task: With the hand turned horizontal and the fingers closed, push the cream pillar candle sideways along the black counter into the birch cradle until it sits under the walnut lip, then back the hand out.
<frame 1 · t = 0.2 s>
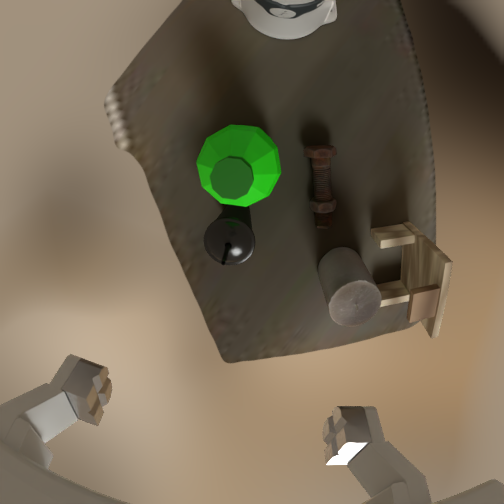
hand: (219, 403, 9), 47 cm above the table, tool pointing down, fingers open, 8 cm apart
drinking cup: (237, 212, 56), on the table
pillar candle: (339, 266, 60), on the table
plastic bottle: (247, 150, 51), on the table
bolt: (319, 184, 53), on the table
cradle: (377, 260, 59), on the table
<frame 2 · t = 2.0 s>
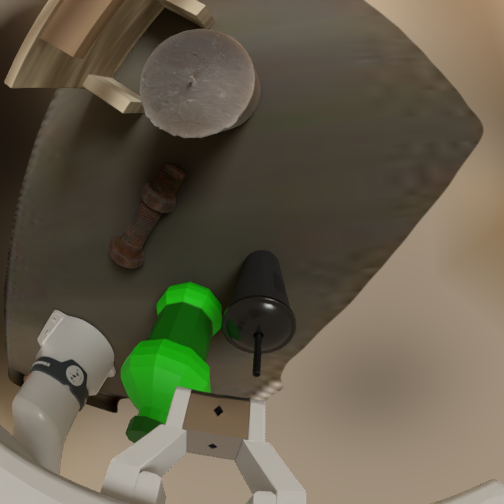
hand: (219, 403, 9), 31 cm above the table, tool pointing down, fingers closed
drinking cup: (261, 264, 42), on the table
pillar candle: (220, 94, 32), on the table
plastic bottle: (194, 298, 45), on the table
bolt: (154, 210, 40), on the table
cradle: (168, 60, 30), on the table
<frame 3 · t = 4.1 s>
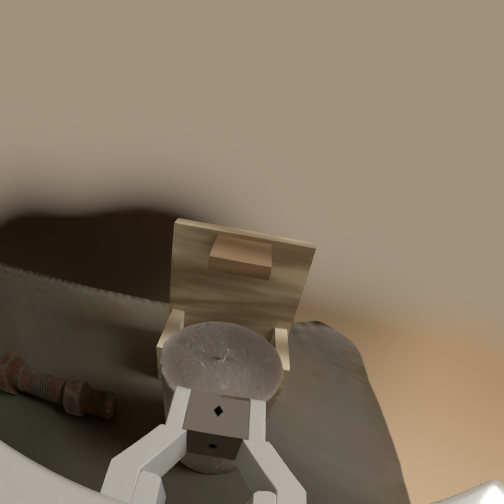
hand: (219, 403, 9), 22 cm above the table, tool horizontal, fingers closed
pillar candle: (209, 438, 27), on the table
bolt: (60, 402, 26), on the table
cradle: (218, 382, 35), on the table
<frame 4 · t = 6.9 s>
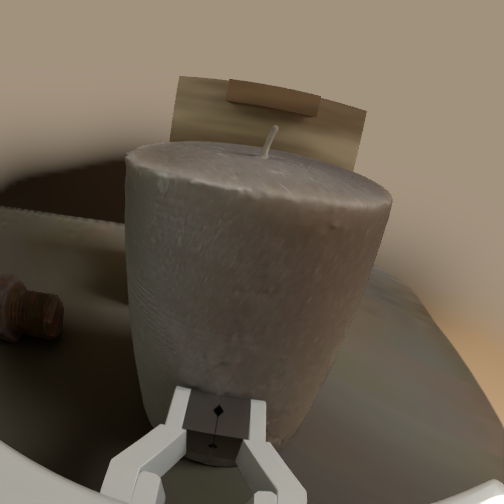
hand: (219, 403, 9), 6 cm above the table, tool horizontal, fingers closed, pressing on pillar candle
pillar candle: (219, 400, 16), on the table, touching gripper
cradle: (232, 315, 24), on the table
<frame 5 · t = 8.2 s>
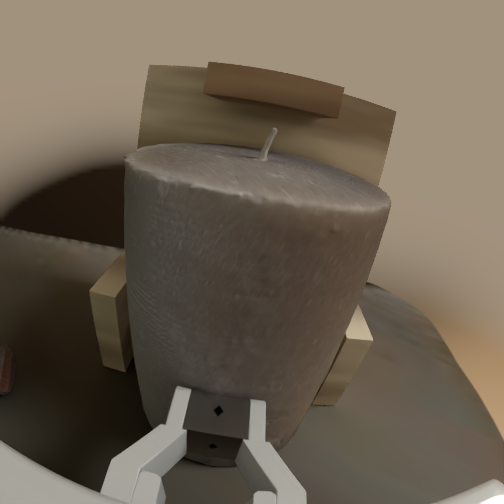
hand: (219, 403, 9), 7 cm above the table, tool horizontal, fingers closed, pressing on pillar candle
pillar candle: (218, 400, 16), on the table, touching gripper
cradle: (220, 376, 18), on the table
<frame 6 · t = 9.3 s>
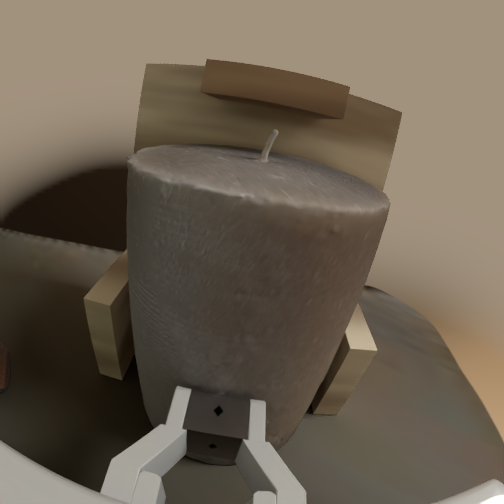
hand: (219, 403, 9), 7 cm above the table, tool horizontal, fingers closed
pillar candle: (218, 399, 16), on the table
cradle: (219, 384, 17), on the table
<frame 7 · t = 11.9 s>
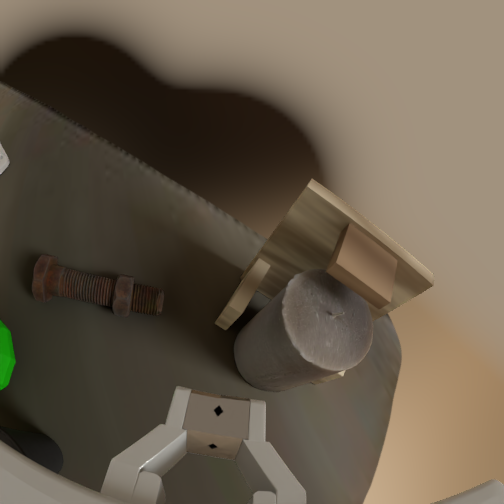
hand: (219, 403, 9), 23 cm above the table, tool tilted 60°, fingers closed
drinking cup: (43, 453, 19), on the table
pillar candle: (268, 354, 35), on the table
bolt: (99, 299, 31), on the table
cradle: (271, 346, 36), on the table
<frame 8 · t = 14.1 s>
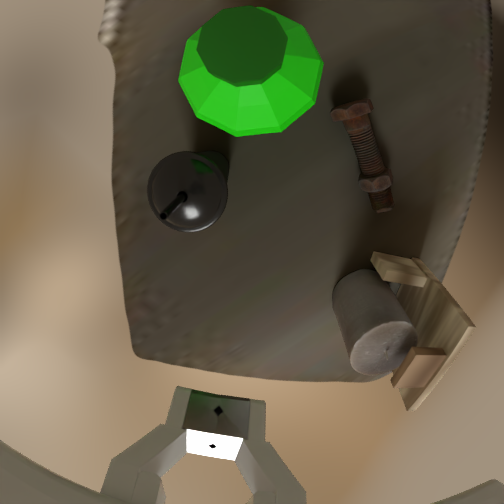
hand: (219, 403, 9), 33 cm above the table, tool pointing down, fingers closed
drinking cup: (211, 168, 38), on the table
pillar candle: (359, 292, 46), on the table
plastic bottle: (256, 91, 34), on the table
bolt: (362, 155, 37), on the table
cradle: (365, 294, 46), on the table
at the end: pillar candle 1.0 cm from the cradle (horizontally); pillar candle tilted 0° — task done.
